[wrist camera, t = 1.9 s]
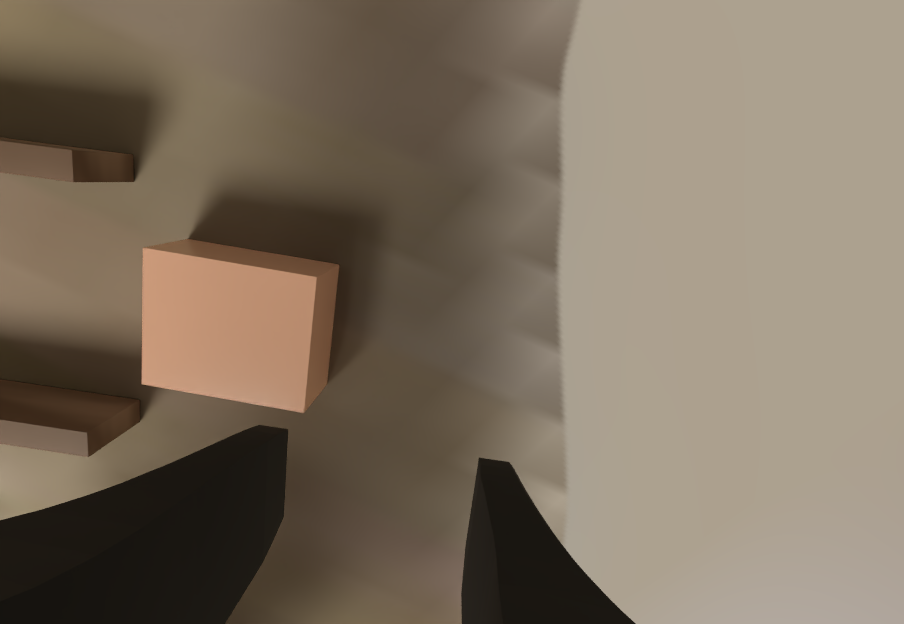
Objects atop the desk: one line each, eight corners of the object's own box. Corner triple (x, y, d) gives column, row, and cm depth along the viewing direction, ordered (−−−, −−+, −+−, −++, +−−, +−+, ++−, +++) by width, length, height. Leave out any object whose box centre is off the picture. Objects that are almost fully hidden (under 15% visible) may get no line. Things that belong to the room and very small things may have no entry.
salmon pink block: (328, 382, 22) (303, 413, 19) (187, 357, 22) (141, 384, 19) (341, 263, 21) (316, 276, 18) (191, 238, 21) (143, 247, 18)
